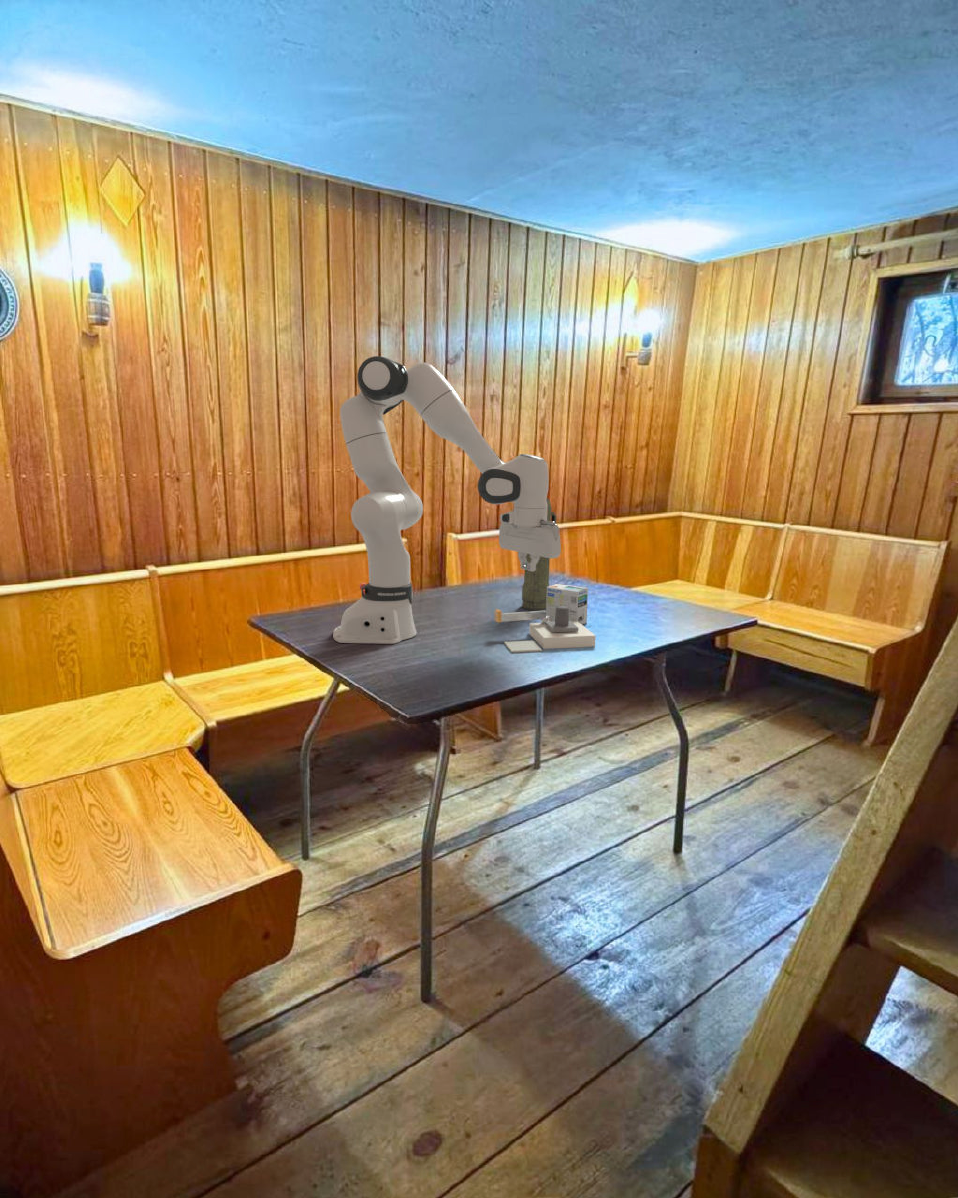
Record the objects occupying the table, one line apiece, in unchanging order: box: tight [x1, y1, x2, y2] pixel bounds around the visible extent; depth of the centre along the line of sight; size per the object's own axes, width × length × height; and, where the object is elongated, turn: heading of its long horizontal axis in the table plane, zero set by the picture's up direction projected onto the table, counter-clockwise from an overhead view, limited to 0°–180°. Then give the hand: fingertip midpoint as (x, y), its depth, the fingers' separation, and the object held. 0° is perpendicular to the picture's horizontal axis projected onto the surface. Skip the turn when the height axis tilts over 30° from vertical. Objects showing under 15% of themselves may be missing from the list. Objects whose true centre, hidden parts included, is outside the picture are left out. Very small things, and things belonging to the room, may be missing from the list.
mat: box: [503, 640, 543, 654], centre depth 177 cm, size 8×8×1 cm
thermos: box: [521, 497, 557, 611], centre depth 215 cm, size 9×12×35 cm
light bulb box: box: [545, 583, 589, 626], centre depth 201 cm, size 11×7×11 cm, turn 57°
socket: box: [528, 621, 596, 650], centre depth 184 cm, size 14×14×3 cm
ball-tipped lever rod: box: [494, 608, 550, 624], centre depth 186 cm, size 16×2×4 cm, turn 107°
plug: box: [545, 606, 578, 632], centre depth 183 cm, size 7×7×9 cm
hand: (528, 570), depth 181 cm, fingers closed
